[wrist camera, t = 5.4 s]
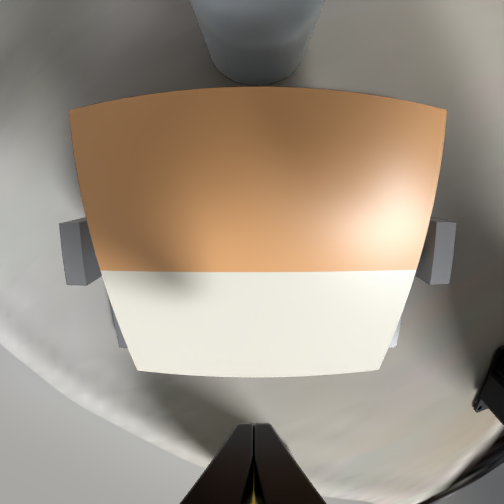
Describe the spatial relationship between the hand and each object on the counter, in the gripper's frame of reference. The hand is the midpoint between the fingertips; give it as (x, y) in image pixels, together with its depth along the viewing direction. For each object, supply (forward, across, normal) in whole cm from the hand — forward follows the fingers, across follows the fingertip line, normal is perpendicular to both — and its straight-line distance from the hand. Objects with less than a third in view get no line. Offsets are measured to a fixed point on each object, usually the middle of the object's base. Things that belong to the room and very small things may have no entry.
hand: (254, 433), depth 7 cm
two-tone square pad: (+5, 0, -4) cm, 6 cm away
